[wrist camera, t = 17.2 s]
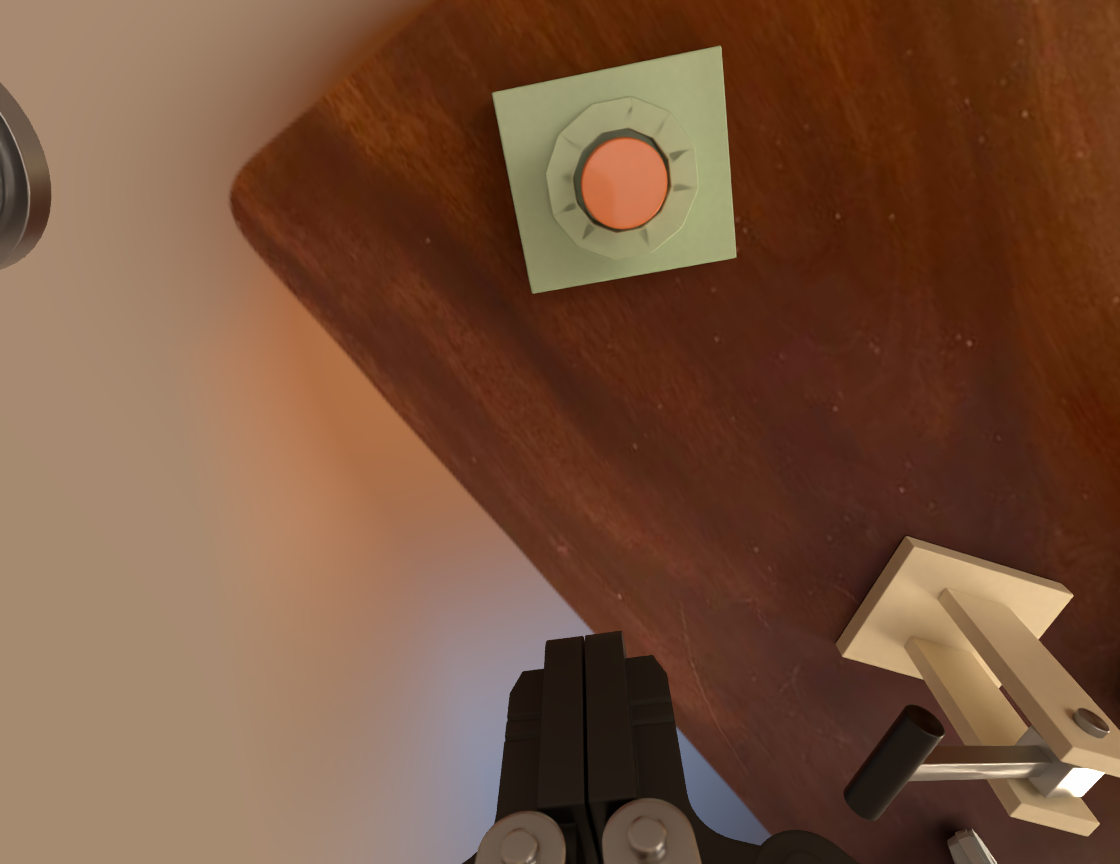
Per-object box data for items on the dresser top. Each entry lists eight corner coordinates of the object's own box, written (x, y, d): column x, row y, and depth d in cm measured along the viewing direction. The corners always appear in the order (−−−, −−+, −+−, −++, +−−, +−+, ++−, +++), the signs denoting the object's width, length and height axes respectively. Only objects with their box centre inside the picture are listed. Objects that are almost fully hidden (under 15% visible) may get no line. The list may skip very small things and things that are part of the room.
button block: (534, 284, 35) (529, 303, 31) (496, 94, 31) (486, 90, 28) (727, 250, 34) (745, 265, 31) (711, 50, 31) (730, 40, 27)
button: (587, 230, 30) (588, 236, 29) (574, 145, 29) (574, 146, 27) (667, 215, 30) (672, 221, 29) (657, 129, 29) (662, 129, 27)
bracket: (834, 643, 45) (927, 827, 33) (905, 535, 41) (1036, 698, 29) (980, 685, 46) (1119, 875, 34) (1061, 583, 42) (1246, 757, 31)
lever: (831, 779, 31) (863, 830, 29) (891, 696, 29) (930, 744, 27) (1022, 775, 36) (1061, 818, 34) (1087, 703, 34) (1132, 744, 32)
